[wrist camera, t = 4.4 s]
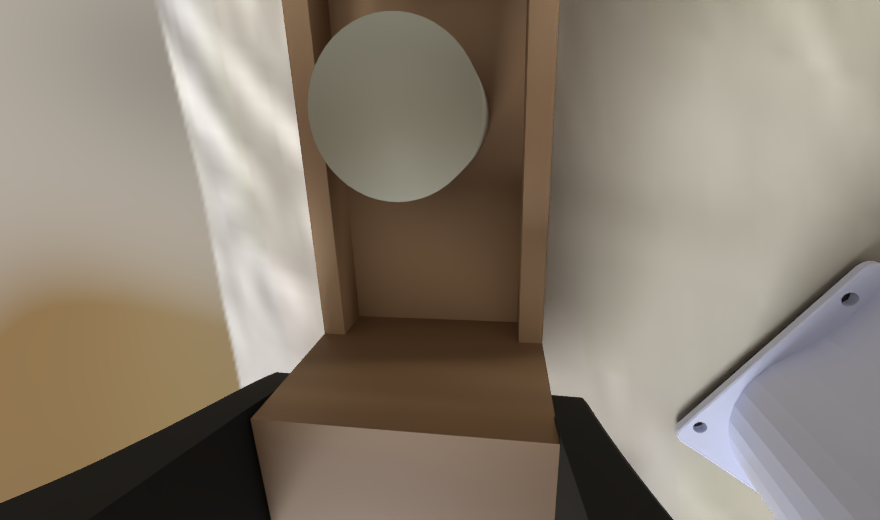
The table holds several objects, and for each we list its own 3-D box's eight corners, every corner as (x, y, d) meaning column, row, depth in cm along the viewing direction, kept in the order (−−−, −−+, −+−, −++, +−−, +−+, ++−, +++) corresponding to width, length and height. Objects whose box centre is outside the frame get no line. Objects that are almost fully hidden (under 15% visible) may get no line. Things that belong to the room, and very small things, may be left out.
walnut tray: (321, -18, 9) (128, -174, 4) (550, -39, 8) (610, -254, 4) (381, 563, 15) (323, 770, 10) (523, 582, 14) (532, 815, 9)
